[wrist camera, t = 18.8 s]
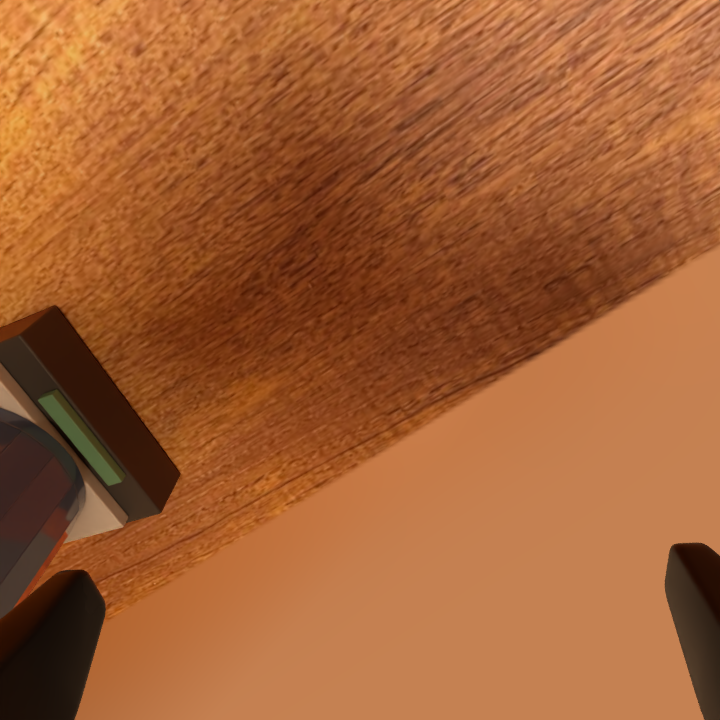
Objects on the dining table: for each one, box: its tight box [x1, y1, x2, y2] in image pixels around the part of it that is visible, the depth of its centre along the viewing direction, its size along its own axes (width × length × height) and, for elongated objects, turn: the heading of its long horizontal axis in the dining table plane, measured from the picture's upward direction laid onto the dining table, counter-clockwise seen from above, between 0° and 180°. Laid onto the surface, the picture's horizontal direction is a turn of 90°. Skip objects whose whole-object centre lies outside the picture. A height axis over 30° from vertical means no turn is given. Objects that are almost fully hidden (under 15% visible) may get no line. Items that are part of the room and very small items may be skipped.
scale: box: [0, 306, 180, 543], centre depth 24 cm, size 9×9×3 cm
